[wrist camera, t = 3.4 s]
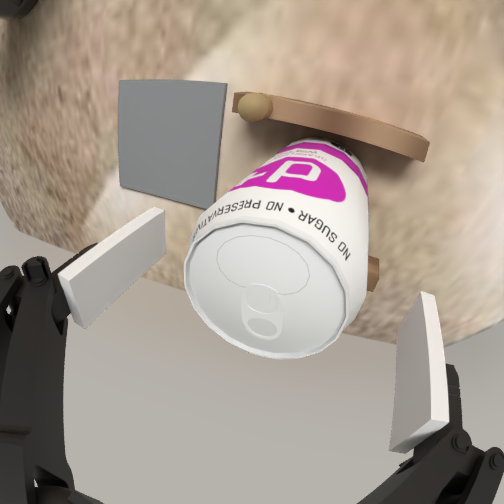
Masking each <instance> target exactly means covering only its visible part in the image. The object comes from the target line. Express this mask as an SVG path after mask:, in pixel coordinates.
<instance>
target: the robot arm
mask: <svg viewBox="0 0 504 504" xmlns="http://www.w3.org/2000/svg"><path fill="white" fill-rule="evenodd" d="M36 2H37V0H0V19H4V20H12V19H20V18H22V17H23V16H25V15H26V14H27V13H28V12H29V11H30V10H31V9H32V7H33V6H34V5H35V3H36ZM165 254H166V245H165V210H163V209H159V208H156V207H152V208H150V209H149V210H147V211H146V212H144V213H143V214H141V215H140V216H138V217H136V218H135V219H133V220H132V221H130V222H129V223H127V224H126V225H124V226H123V227H122V228H120V229H119V230H117V231H116V232H114V233H113V234H111V235H110V236H108V237H107V238H106V239H104V240H103V241H101V242H100V243H99V244H98V243H95V244H93V245H90V246H88V247H86V248H84V249H83V250H82V251H80V252H79V254H76V255H75V256H74V257H73V258H71V259H69V260H68V261H67V262H65V263H64V264H63V265H62V266H60V267H59V268H57V269H56V270H55V271H54V272H52V273H51V271H50V268H49V264H48V261H47V259H46V258H44V257H42V256H41V257H40V256H37V257H33V258H30V259H28V260H27V261H26V262H25V263H24V264H23V265H22V267H21V268H22V270H23V273H24V276H22V274H21V271H20V269H19V267H18V266H8V267H6V268H4V269H3V270H2V271H1V272H0V504H103V503H102V502H100V501H99V500H96V499H93V498H92V497H89V496H87V495H84V494H82V493H80V492H78V491H76V490H75V487H74V480H73V475H72V472H71V469H70V467H69V465H68V463H67V460H66V456H65V445H64V424H63V382H64V381H63V380H64V361H65V347H66V337H67V328H68V319H67V316H68V315H69V314H70V313H71V314H72V316H73V319H74V322H75V323H77V324H78V325H80V326H81V327H83V328H84V329H87V328H88V326H90V325H91V324H92V323H93V322H94V321H95V320H96V319H97V318H98V317H99V316H100V315H101V314H102V313H103V312H104V311H105V310H106V309H107V308H108V307H109V306H110V305H111V304H112V303H113V302H114V301H115V300H116V299H117V298H118V297H120V296H121V295H122V294H123V293H124V292H125V291H126V290H127V289H128V288H129V287H130V286H131V285H132V284H133V283H134V282H136V281H137V280H138V279H139V278H140V277H141V276H142V275H143V274H144V273H145V272H146V271H147V270H149V269H150V268H151V267H152V266H153V265H154V264H155V263H156V262H157V261H159V260H160V259H161V258H162V257H163V256H164V255H165ZM8 305H9V307H10V309H11V312H10V314H8V313H7V311H6V309H7V307H8ZM413 448H414V454H413V457H411V458H409V459H408V460H406V461H405V462H403V463H401V464H400V465H399V466H400V468H399V469H398V470H397V471H396V472H395V473H394V474H393V475H391V476H390V477H389V478H388V479H387V480H386V481H385V482H383V483H382V484H381V485H380V486H379V487H377V488H376V489H375V490H374V491H373V492H371V493H370V494H369V495H368V496H366V497H365V498H364V499H363V500H361V501H360V502H359V503H357V504H492V502H493V500H494V497H495V495H496V492H497V490H498V487H499V484H500V481H501V478H502V475H503V472H504V453H503V452H502V450H501V449H500V448H497V447H492V448H490V449H489V450H487V451H486V452H484V451H482V450H480V449H478V448H476V447H474V446H473V445H472V442H471V438H470V436H469V434H468V433H467V432H466V431H465V430H463V428H462V410H461V398H460V389H459V377H458V374H457V372H456V370H455V368H454V365H450V364H446V363H445V357H444V349H443V342H442V335H441V329H440V323H439V317H438V312H437V306H436V301H435V297H434V295H431V294H428V293H425V292H422V291H421V292H420V294H419V296H418V297H417V299H416V301H415V302H414V304H413V306H412V308H411V309H410V311H409V313H408V314H407V316H406V318H405V319H404V321H403V322H402V324H401V326H400V327H399V329H398V330H397V357H396V384H395V399H394V411H393V421H392V430H391V440H390V446H389V451H392V452H399V453H407V452H409V451H410V450H411V449H413ZM34 479H35V481H36V483H37V485H38V487H35V486H34Z"/></svg>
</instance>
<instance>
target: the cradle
mask: <svg viewBox="0 0 504 504" xmlns="http://www.w3.org/2000/svg"><path fill="white" fill-rule="evenodd" d="M232 112H235V113H239V114H240V116H241V117H242V118H243V119H244V120H246V121H248V122H257V121H260V120H263V119H266V118H270V119H275V120H280V121H285V122H289V123H294V124H298V125H303V126H307V127H311V128H315V129H319V130H323V131H327V132H331V133H335V134H339V135H342V136H346V137H349V138H353V139H356V140H360V141H363V142H366V143H369V144H373V145H376V146H379V147H382V148H385V149H388V150H391V151H394V152H397V153H399V154H402V155H405V156H408V157H411V158H413V159H416V160H419V161H421V162H424V161H425V157H426V154H427V151H428V147H429V144H430V142H429V141H427V140H426V139H425V138H423V137H422V136H420V135H417V134H415V133H412V132H409V131H407V130H404V129H401V128H398V127H395V126H392V125H389V124H386V123H383V122H380V121H377V120H374V119H370V118H367V117H364V116H360V115H357V114H353V113H350V112H346V111H342V110H338V109H334V108H330V107H326V106H322V105H318V104H313V103H309V102H304V101H299V100H294V99H289V98H284V97H278V96H273V95H267V94H263V93H254V92H238V93H234V100H233V108H232ZM378 280H379V259H377V258H374V257H371V256H368V273H367V290H368V291H371V292H373V291H374V289H375V286H376V284H377V282H378Z"/></svg>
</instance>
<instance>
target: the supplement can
mask: <svg viewBox="0 0 504 504" xmlns="http://www.w3.org/2000/svg"><path fill="white" fill-rule="evenodd" d="M368 241H369V207H368V184H367V176H366V173H365V171H364V169H363V167H362V165H361V163H360V161H359V159H358V158H357V157H356V156H355V155H354V154H353V153H352V152H351V151H350V150H349V149H348V148H347V147H346V146H343V145H341V144H339V143H337V142H335V141H333V140H331V139H328V138H316V137H308V138H305V139H301V140H298V141H294V142H292V143H291V144H289V145H288V146H287V147H285V148H284V149H283V150H281V151H280V152H279V153H277V154H276V155H275V156H273V157H272V158H271V159H269V160H268V161H267V162H265V163H264V164H263V165H262V166H260V167H259V168H258V169H256V170H255V171H254V172H253V173H251V174H250V175H249V176H247V177H246V178H245V179H244V180H242V181H241V182H240V183H239V184H237V185H236V186H235V187H234V188H232V189H231V190H230V191H229V192H227V193H226V194H225V195H224V196H222V197H221V198H220V199H219V200H218V201H217V202H215V203H214V204H213V205H212V206H211V207H209V208H208V209H207V210H206V211H205V212H204V213H202V214H201V215H200V216H199V219H198V221H197V223H196V225H195V228H194V230H193V232H192V234H191V237H190V239H189V249H188V255H187V257H186V259H185V261H184V286H185V288H186V291H187V293H188V296H189V298H190V301H191V304H192V306H193V308H194V309H195V310H196V312H197V313H198V314H199V316H200V317H201V318H202V319H203V321H204V322H205V324H206V325H207V326H208V327H210V328H211V329H212V330H213V331H214V332H215V333H217V334H218V335H219V336H220V337H222V338H223V339H224V340H225V341H227V342H229V343H230V344H233V345H234V346H236V347H239V348H241V349H242V350H244V351H246V352H249V353H252V354H256V355H260V356H264V357H268V358H272V359H299V358H302V357H306V356H309V355H312V354H316V353H319V352H321V351H322V350H324V349H325V348H326V347H328V346H329V345H330V344H332V343H333V342H334V341H335V340H337V339H338V338H339V336H340V334H341V332H342V330H343V329H344V328H345V327H347V326H348V325H349V324H350V323H351V322H352V321H353V320H354V319H355V317H356V315H357V314H358V312H359V310H360V307H361V305H362V303H363V301H364V299H365V297H366V291H367V273H368Z"/></svg>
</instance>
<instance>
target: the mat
mask: <svg viewBox="0 0 504 504" xmlns="http://www.w3.org/2000/svg"><path fill="white" fill-rule="evenodd" d="M226 90H227V83H217V82H204V81H187V80H120V81H119V96H118V156H119V178H120V186H122V187H125V188H129V189H133V190H137V191H141V192H145V193H149V194H152V195H156V196H160V197H164V198H167V199H171V200H175V201H178V202H182V203H186V204H189V205H193V206H197V207H200V208H204V209H208V208H209V207H211V206H212V205H213V204H214V203H215V201H216V189H217V177H218V166H219V155H220V145H221V135H222V126H223V116H224V107H225V99H226Z"/></svg>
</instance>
